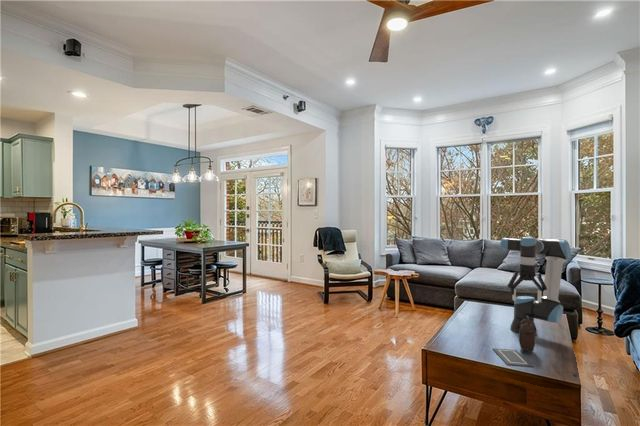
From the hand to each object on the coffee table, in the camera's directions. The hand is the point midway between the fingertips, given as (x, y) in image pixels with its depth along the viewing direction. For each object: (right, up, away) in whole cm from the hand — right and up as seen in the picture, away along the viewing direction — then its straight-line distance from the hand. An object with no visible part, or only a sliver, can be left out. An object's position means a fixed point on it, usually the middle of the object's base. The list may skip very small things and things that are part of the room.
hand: (526, 301), depth 193 cm
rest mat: (-14, -29, -9) cm, 33 cm away
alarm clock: (0, -29, 0) cm, 29 cm away
